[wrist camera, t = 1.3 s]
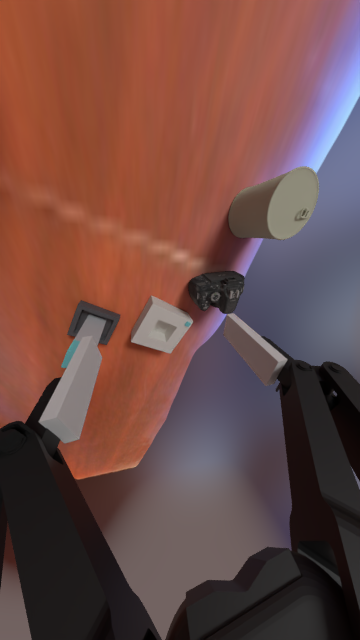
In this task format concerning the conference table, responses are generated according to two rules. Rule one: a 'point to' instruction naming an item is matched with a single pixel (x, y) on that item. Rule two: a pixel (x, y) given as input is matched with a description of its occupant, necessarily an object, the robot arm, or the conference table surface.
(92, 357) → the robot arm
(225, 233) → the conference table surface
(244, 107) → the conference table surface
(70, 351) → the plug
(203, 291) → the camera
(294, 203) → the can
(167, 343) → the port panel
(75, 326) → the dark grey square tray
